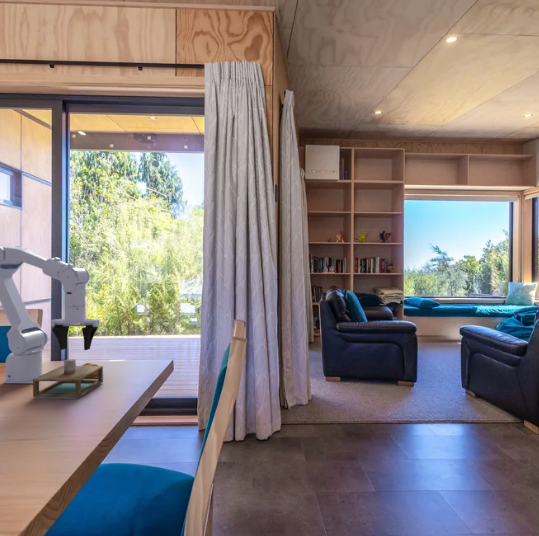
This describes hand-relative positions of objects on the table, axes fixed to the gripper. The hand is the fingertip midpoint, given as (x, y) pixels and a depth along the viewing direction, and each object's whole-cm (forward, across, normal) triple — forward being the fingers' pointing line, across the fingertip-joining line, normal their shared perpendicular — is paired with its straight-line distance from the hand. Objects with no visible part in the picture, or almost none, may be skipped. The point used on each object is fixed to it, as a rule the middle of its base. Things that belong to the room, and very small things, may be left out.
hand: (75, 349), depth 113 cm
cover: (+10, +3, -7) cm, 13 cm away
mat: (+10, +3, -8) cm, 13 cm away
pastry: (+11, +1, +7) cm, 13 cm away
